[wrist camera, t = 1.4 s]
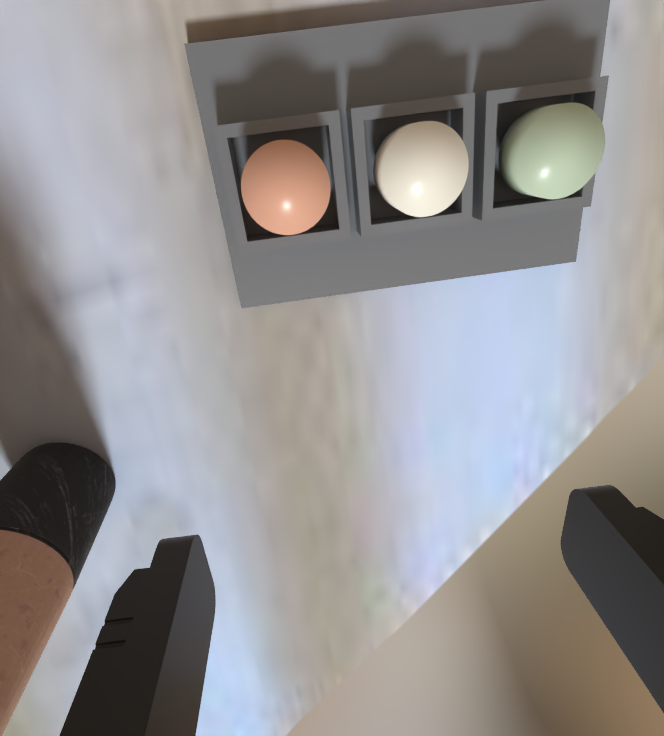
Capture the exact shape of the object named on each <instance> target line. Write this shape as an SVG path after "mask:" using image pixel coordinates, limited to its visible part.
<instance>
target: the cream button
mask: <svg viewBox="0 0 664 736" xmlns="http://www.w3.org/2000/svg"><path fill="white" fill-rule="evenodd" d="M468 167H469V161H468V153H467V150H466V147H465V144H464V142H463V140H462V139H461V137H460V136H459V135H458V134H457V132H456V131H454V130H453V129H452V128H451V127H449V126H448V125H446V124H443V123H440V122H437V121H422V122H416V123H410V124H406V125H403V126H400V127H398V128H397V129H395V130H394V131H392V132H391V133H390V134H389V135H388V136H387V137H386V138H385V139H384V140H383V142H382V143H381V145H380V146H379V148H378V150H377V153H376V156H375V160H374V166H373V176H374V181H375V185H376V188H377V190H378V192H379V194H380V195H381V196H382V198H383V199H384V200H385V201H386V202H387V203H388V204H390V205H391V206H393V207H395V208H396V209H398V210H400V211H401V212H403V213H405V214H408V215H410V216H415V217H427V216H432V215H435V214H438V213H440V212H442V211H443V210H445V209H446V208H448V207H449V206H450V205H451V204H452V203H453V202H454V201H455V200H456V199H457V197H458V196H459V195H460V193H461V191H462V190H463V187H464V185H465V182H466V179H467V175H468Z"/></svg>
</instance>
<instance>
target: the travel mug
mask: <svg viewBox="0 0 664 736" xmlns="http://www.w3.org/2000/svg"><path fill="white" fill-rule="evenodd" d="M114 492H115V478H114V475H113V472H112V471H111V469H110V467H109V466H108V465H107V463H106V462H105V461H104V460H103V459H101V458H100V457H99V456H98V455H96V454H95V453H93V452H91V451H89V450H88V449H85V448H83V447H80V446H76V445H72V444H66V443H52V444H46V445H42V446H39V447H36V448H34V449H32V450H31V451H29V452H28V453H26V454H25V455H24V456H23V457H22V458H21V459H20V460H19V461H18V462H17V463H16V464H15V465H14V466H13V467H12V469H11V470H10V471H9V472H8V473H7V474H6V475H5V476H4V477H3V478H2V479H1V481H0V736H2V734H3V732H4V730H5V728H6V726H7V724H8V722H9V720H10V718H11V716H12V714H13V712H14V710H15V708H16V706H17V704H18V702H19V699H20V697H21V695H22V693H23V691H24V689H25V687H26V685H27V683H28V681H29V679H30V677H31V675H32V673H33V671H34V669H35V667H36V665H37V663H38V661H39V659H40V657H41V654H42V652H43V650H44V648H45V646H46V644H47V642H48V640H49V638H50V636H51V634H52V632H53V630H54V628H55V626H56V624H57V622H58V620H59V618H60V616H61V614H62V611H63V609H64V607H65V605H66V603H67V601H68V599H69V597H70V595H71V592H72V590H73V588H74V586H75V584H76V582H77V579H78V577H79V575H80V572H81V570H82V568H83V566H84V563H85V561H86V559H87V556H88V554H89V552H90V550H91V547H92V545H93V543H94V540H95V538H96V536H97V533H98V531H99V529H100V527H101V524H102V522H103V520H104V517H105V515H106V513H107V510H108V508H109V506H110V503H111V501H112V498H113V495H114Z"/></svg>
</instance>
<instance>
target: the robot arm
mask: <svg viewBox="0 0 664 736" xmlns="http://www.w3.org/2000/svg"><path fill="white" fill-rule="evenodd" d="M561 550H562V554H563V558H564V561H565V563H566V565H567V567H568V569H569V571H570V572H571V574H572V575H573V577H574V578H575V580H576V581H577V583H578V584H579V586H580V587H581V589H582V590H583V592H584V593H585V595H586V596H587V598H588V599H589V601H590V603H591V604H592V605H593V607H594V609H595V610H596V612H597V613H598V615H599V616H600V617H601V619H602V621H603V622H604V624H605V625H606V627H607V628H608V630H609V631H610V633H611V634H612V636H613V637H614V639H615V640H616V642H617V643H618V645H619V646H620V648H621V649H622V651H623V652H624V654H625V655H626V657H627V658H628V660H629V661H630V663H631V664H632V666H633V667H634V669H635V670H636V672H637V673H638V675H639V676H640V678H641V679H642V681H643V682H644V684H645V685H646V687H647V688H648V690H649V691H650V693H651V694H652V696H653V697H654V699H655V701H656V702H657V704H658V705H659V706H660V708H661V710H662V711H663V713H664V519H662V518H660V517H659V516H657V515H655V514H654V513H652V512H651V511H649V510H647V509H646V508H644V507H638V508H636V507H635V506H633V504H632V503H631V502H630V501H629V500H628V499H627V498H626V497H625V496H624V495H623V494H622V493H621V492H620V491H619V490H618V489H617V488H615V487H614V486H611V485H605V486H597V487H589V488H582V489H574V490H573V491H572V492H571V493H570V496H569V501H568V506H567V511H566V516H565V521H564V527H563V531H562V536H561ZM214 615H215V588H214V582H213V579H212V575H211V572H210V568H209V565H208V561H207V558H206V554H205V551H204V547H203V544H202V541H201V538H200V536H199V535H191V536H183V537H175V538H167V539H162V540H160V541H159V543H158V545H157V548H156V551H155V554H154V557H153V560H152V563H151V566H150V568H144V569H136V570H134V571H133V572H132V573H131V575H130V576H129V577H128V578H127V580H126V581H125V582H124V583H123V585H122V586H121V587H120V588H119V589H118V591H117V592H116V593H115V595H114V598H113V600H112V603H111V605H110V608H109V611H108V613H107V616H106V618H105V625H104V626H102V628H101V631H100V634H99V636H98V639H97V641H96V648H95V650H93V652H92V654H91V657H90V659H89V662H88V664H87V667H86V669H85V672H84V675H83V677H82V680H81V682H80V685H79V687H78V690H77V692H76V695H75V698H74V700H73V703H72V705H71V708H70V710H69V713H68V715H67V718H66V721H65V723H64V726H63V728H62V731H61V733H60V736H195V734H196V728H197V722H198V716H199V709H200V703H201V697H202V691H203V684H204V678H205V672H206V666H207V659H208V653H209V647H210V641H211V634H212V628H213V622H214Z"/></svg>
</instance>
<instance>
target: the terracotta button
mask: <svg viewBox="0 0 664 736" xmlns="http://www.w3.org/2000/svg"><path fill="white" fill-rule="evenodd" d="M330 191H331V189H330V179H329V175H328V172H327V169H326V167H325V165H324V163H323V162H322V160H321V159H320V157H319V156H318V155H317V154H316V153H315V152H314V151H313V150H312V149H310V148H309V147H308V146H306V145H304V144H302V143H299V142H297V141H293V140H276V141H272V142H269V143H266V144H265V145H263V146H261V147H260V148H258V149H257V150H256V151H255V152H254V153H253V154H252V155H251V157H250V158H249V159H248V161H247V163H246V165H245V167H244V170H243V174H242V179H241V192H242V198H243V201H244V204H245V207H246V209H247V210H248V212H249V214H250V215H251V217H252V218H253V219H254V220H255V221H256V222H257V223H258V224H259V225H260V226H262V227H263V228H265V229H266V230H268V231H270V232H273V233H276V234H281V235H294V234H299V233H302V232H304V231H306V230H308V229H310V228H311V227H313V226H314V225H315V224H316V223H317V222H318V221H319V220H320V219H321V218H322V216H323V214H324V213H325V211H326V209H327V206H328V203H329V199H330Z"/></svg>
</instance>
